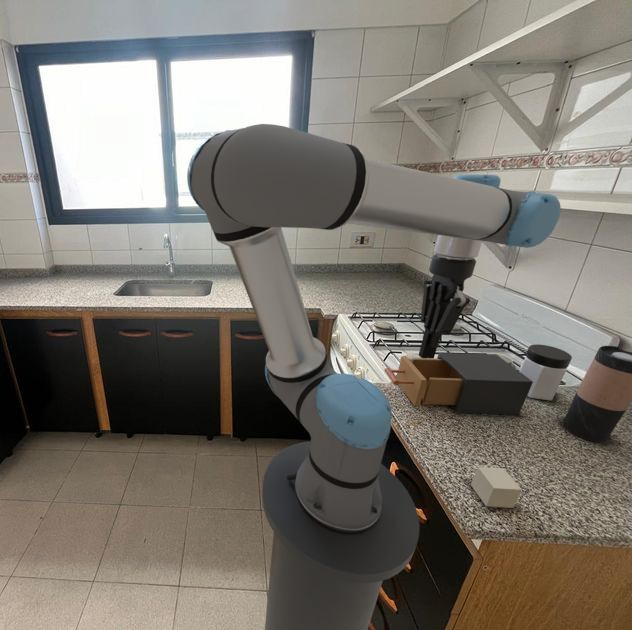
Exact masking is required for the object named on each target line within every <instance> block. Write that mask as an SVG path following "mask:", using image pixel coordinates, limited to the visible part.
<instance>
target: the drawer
mask: <svg viewBox="0 0 632 630" xmlns="http://www.w3.org/2000/svg"><path fill="white" fill-rule="evenodd" d="M384 372H385V374H386V375H387V377H388V379H390V381H391V383H392V384H393V386H398V385H399V387H400V388H401V390H402V391H403V392H404V394H405V395H406V396H407V398H408V399H409V401H410V402H411V403H412V405H413V406H414V407H420V406H421V404H422V403H423V405H441V406H443V405H444V406H450V405H456V403H457V400H458V397H459V394H460V391H461V388H462V385H463V382H464V380H463V379H462V378H461V377H460V376H459V375H458V374H457V373H456V372H455V371H454V370H453V369H452V368H451V367H450V366H449V365H448V364H447V363H446V362H445V361H443V360H442V359H437V358H421V357H412V358H411V360H410V359H409V357H408V356H407V355H401V357H400V361H399V366H398V369H391V368H390V367H386V368H385V369H384ZM395 374H396V375H395ZM421 402H422V403H421Z"/></svg>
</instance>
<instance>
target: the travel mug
mask: <svg viewBox="0 0 632 630" xmlns="http://www.w3.org/2000/svg"><path fill="white" fill-rule="evenodd" d="M631 403H632V351H627V350H624V349H622V348H620V347H619V346H615V345H602V346H600V347H599V348H598V349H597V351H596V354H595V355H594V357H593V359H592V360H591V363H590V365H589V367H588V369H587V371H586V373H585V375H584V377H583V378H582V380H581V382H580V384H579V386H578V388H577V390H576V391H575V394H574V396H573V399H572V401H571V404H570V406H569V407H568V410H567V412H566V414H565V417H564V418H563V422H562V424H563V427H564V428H565V429H566V430H567V431H568V432H570V433H572V434H573V435H575V436H577V437H579V438H582V439H584V440H587V441H591V442H596V443H603V442H605V441H607V440H608V439H609V437H610V436H611V434H612V433H613V431H614V429H616V427H617V425H618V424H619V422H620V420H621V419H622V417H623V416H624V414H625V413H626V412H627V410H628V409H629V407H630V405H631Z"/></svg>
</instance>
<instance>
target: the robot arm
mask: <svg viewBox="0 0 632 630" xmlns="http://www.w3.org/2000/svg"><path fill="white" fill-rule="evenodd" d="M186 173H187V174H186V181H187V187H188V190H189V193H190V196H191V198H192V199H193V201H194V202H195V204H196V205H197V206H198V207H199V208H200V209H201V210H202V211H204V213H205V215H206V217H207V220H208V222H209V225H210V228H211V230H212V232H213V235H214V237H215V240H216V241H217V242H218V243H220V244H222V245H225V246H227V247H229V250H230V252H231V255H232V258H233V260H234V262H235V266H236V268H237V270H238V273H239V276H240V279H241V282H242V284H243V286H244V289H245V291H246V294H247V297H248V299H249V302H250V305H251V307H252V310H253V312H254V315H255V317H256V320H257V323H258V325H259V328H260V331H261V334H262V336H263V339H264V341H265V344H266V346H267V349H268V352H267V353H266V356H265V365H264V375H265V379H266V382H267V384H268V386H269V388H270V389H271V391H272V393H273V394H274V395H275V396H276V397H278V398H279V399H280V401H281V402H282V403H283V405H285V406H286V408H287V409H288V410H289V411H290V412H291V414H292V415H293V416H294V417H295V418H296V419H297V420H298V422H299V423H300V424H301V425H302V426H303V427H304V429H305V430H306V431H307V432H308V433H309V436H310V441H311V443H310V451H309V454H308V456H307V457H306V459H305V460H304V462H303V463H302V465H301V466H300V468H299V470H298V472H297V473H296V474H291V475H287V479H288V480H294V479H296V480H295V493H296V497H297V500H298V502H299V504H300V506H301V507H302V509H303V510H304V511H305V513H306V514H307V515H308V516H309V517H310V518H311V519H313V520H314V521H315V522H316V523H318V524H319V525H321V526H323V527H325V528H327V529H329V530H331V531H334V532H338V533H342V534H359V533H363V532H366V531H368V530H370V529H371V528H372V527H374V526H375V524H376V523H377V522H378V520H379V517H380V514H381V510H382V495H381V490H380V485H379V480H378V472H379V469H380V465H381V464H382V461H383V457H384V453H385V450H386V446H387V442H388V439H389V437H390V435H391V429H392V416H393V414H392V411H393V410H392V406H391V403H390V401H389V398H387V396H386V394H385V393H384V392H383V391H382V390H381V389H380V388H379V387H378V386H377V385H376V384H375V383H373V382H371V381H369V380H368V379H366V378H363V377H360V378H358V377H357V376H356V375H355V374H354V375H353V374H350V373H338V372H337V371H336V370H335V369H333V368H332V366H331V364H330V361H329V358H328V354H327V350H326V347H325V344H324V343H323V342H322V341H321V340H320V339H318V338H316V337H314V336H313V332H312V328H311V326H310V322H309V318H308V315H307V311H306V308H305V304H304V302H303V298H302V294H301V291H300V287H299V284H298V280H297V277H296V274H295V271H294V266H293V263H292V260H291V256H290V253H289V250H288V246H287V242H286V239H285V235H284V232H283V228H285V229H286V228H289V229H291V228H293V229H295V228H296V229H297V228H298V229H317V230H325V231H334V230H337V229H340V228H342V227H343V226H345V225H347V224H348V225H357V226H363V227H364V226H365V227H372V228H378V229H379V228H380V229H387V230H397V231H403V232H404V231H405V232H410V233H411V232H412V233H421V234H426V235H427V234H428V235H434V236H435V235H437V238H436V241H435V246H434V249H433V252H434V255H432V256H431V257H432V258H431V261H430V265H429V270H428V271H429V273H430V274H432V276H431V279H424V280H423V281H422V283H423V296H422V304H421V311H420V312H421V313H420V323H422V324H423V329H424V332H423V334H422V335H423V336H422V341H421V344H420V348H419V352H418V356H419V358H428V359H435V355H436V352H437V349H438V347H439V344H440V341H441V338H442V336H450V335H451V333H452V331H453V330H454V327H455V325H456V324H457V322H458V320H459V319H460V316H461V314H462V313H463V311H464V309H465V307H467V306H468V305H469V304H470V302H471V298H469V297H465V295H464V293H463V291H464V290H465V281H466V280H467V279H470V278H472V277H473V273H474V270H475V268H476V264H477V260H476V259H475V258H477V257H479V253H480V251H481V248H482V243H483V242H488V243H492V244H493V243H494V244H499V245H505V246H506V247H517V248H525V249H527V248H529V249H530V248H534V247H536V246H538V245H540V244H542V243H543V242H544V241H546V240H547V239H548V238H549V237H550V236H551V234H552V233H553V231H554V230H555V227H556V226H557V225H558V222H559V219H560V216H561V210H562V209H561V207H562V206H561V203H560V200H559V199H558V198H557V196H555V195H553V194H550V193H541V192H536V191H532V190H531V191H517V190H512V189H511V190H510V189H505V188H502V187H500V186H501V177H500V176H499V175H497V174H481V173H480V174H475V173H474V174H472V173H471V174H469V173H467V174H463V173H462V174H456V175H455V176H454V177H453V176H448V175H443V174H437V173H433V172H429V171H425V170H419V169H414V168H410V167H406V166H401V165H397V164H392V163H387V162H382V161H378V160H373V159H369V158H366V156H365V153H364V152H363V151H362V150H361V149H360V148H359V147H358V146H356V145H353V144H349V143H344V142H340V141H338V140H335V139H334V140H333V139H331V138H327V137H324V136H321V135H316V134H313V133H310V132H306V131H302V130H298V129H295V128H292V127H288V126H285V125H278V124H273V123H272V124H271V123H258V124H253V125H249V126H246V127H242V128H235V129H226V130H224V131H221V132H217V133H215V134H214V135H212V136H211V137H208V138H207V139H206V140H204V141H203V142H201V143H200V144H199V145H198V147H197V148H196V149H195V151H194V152H193V153H192V156H191V158H190V160H189V163H188V166H187V172H186Z"/></svg>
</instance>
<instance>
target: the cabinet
mask: <svg viewBox="0 0 632 630" xmlns="http://www.w3.org/2000/svg"><path fill="white" fill-rule="evenodd" d="M436 359H442V360H443V361H445V362H446V363H447V364H448V365H449V366H450V367H451V368H452V369H453V370H454V371H455V372H456V373H457V374H458V375H459V376H460V377H461V378H462V379H463V380H464V382H463V385H462V388H461V391H460V394H459V397H458V400H457V403H456V405H449V406H450V407H451V408H452V410H453V411H454V412H455V413H463V414H464V413H466V414H489V415H512V416H513V415H514V416H515V415H516V416H519V415H520V413H521V411H522V409H523V407H524V404H525V402H526V399H527V397H528V396H527V395H528V393H529V390H530V388H531V386H532V383H533V381H531V380H530V379H529V378H527V377H526V376H525V375H523V374H522V373H521V372H519V370H518V369H517V368H515V367H514V366H513V365H512V364H510V363H509V362H507V361H506V360H504V359H503V358H502V357H501V356H499V355H498V354H496V353H495V354H494V353H463V352H461V353H459V352H458V353H457V352H438V354H437V358H436Z"/></svg>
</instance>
